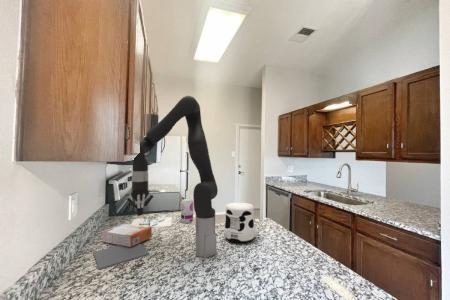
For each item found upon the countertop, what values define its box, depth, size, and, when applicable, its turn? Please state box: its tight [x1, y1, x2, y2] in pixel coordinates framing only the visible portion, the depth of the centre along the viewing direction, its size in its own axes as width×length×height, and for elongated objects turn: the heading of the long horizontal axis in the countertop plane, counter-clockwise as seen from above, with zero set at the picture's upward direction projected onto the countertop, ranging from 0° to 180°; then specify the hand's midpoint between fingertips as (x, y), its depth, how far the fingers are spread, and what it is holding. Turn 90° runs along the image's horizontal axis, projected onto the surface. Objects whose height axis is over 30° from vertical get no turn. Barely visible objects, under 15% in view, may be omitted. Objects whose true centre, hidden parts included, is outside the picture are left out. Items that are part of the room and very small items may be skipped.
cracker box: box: [102, 223, 153, 247], centre depth 110 cm, size 14×6×21 cm
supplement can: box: [180, 198, 194, 224], centre depth 141 cm, size 8×8×15 cm
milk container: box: [223, 201, 257, 243], centre depth 113 cm, size 17×17×18 cm
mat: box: [92, 243, 150, 271], centre depth 95 cm, size 18×20×1 cm
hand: (139, 215), depth 101 cm, fingers closed
